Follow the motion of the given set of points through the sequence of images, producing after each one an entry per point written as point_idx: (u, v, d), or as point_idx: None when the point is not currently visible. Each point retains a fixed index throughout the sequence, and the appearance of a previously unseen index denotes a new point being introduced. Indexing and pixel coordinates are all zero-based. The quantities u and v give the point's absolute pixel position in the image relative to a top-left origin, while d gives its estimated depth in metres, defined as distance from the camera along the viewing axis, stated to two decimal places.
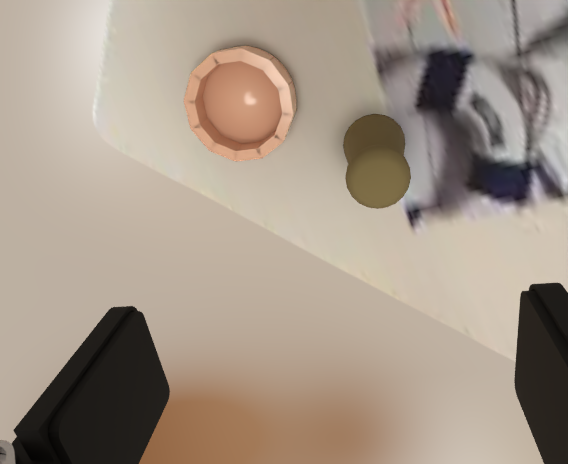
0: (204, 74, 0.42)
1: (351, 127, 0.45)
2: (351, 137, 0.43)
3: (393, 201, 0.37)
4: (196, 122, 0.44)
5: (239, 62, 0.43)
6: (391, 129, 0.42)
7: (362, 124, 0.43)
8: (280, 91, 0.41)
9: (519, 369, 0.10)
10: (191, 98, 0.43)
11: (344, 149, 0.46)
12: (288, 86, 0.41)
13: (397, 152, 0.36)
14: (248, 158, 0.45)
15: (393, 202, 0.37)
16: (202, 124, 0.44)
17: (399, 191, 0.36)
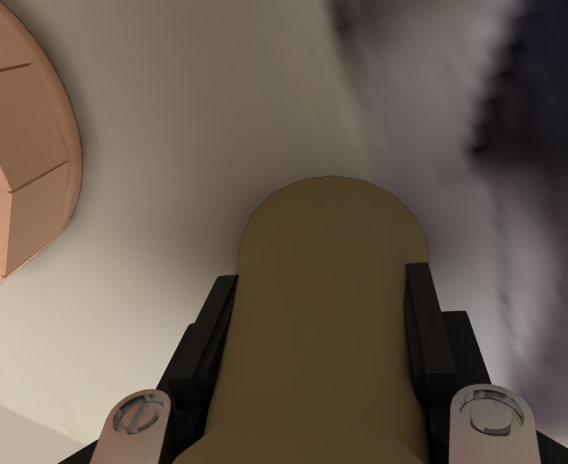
0: None
1: (255, 217, 0.14)
2: (243, 265, 0.12)
3: None
4: None
5: None
6: (385, 247, 0.11)
7: (282, 218, 0.12)
8: None
9: None
10: None
11: None
12: None
13: None
14: None
15: None
16: None
17: None
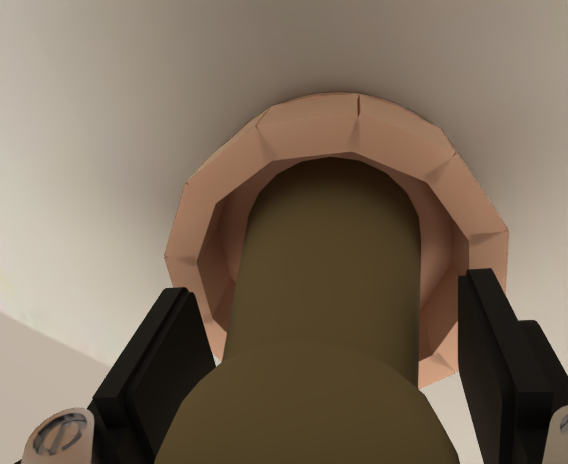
0: (228, 188, 0.13)
1: (261, 195, 0.15)
2: (251, 235, 0.13)
3: None
4: (201, 310, 0.15)
5: None
6: (379, 217, 0.12)
7: (287, 193, 0.14)
8: (475, 246, 0.13)
9: (460, 349, 0.11)
10: (187, 251, 0.14)
11: None
12: None
13: (401, 420, 0.07)
14: None
15: None
16: (217, 309, 0.16)
17: None
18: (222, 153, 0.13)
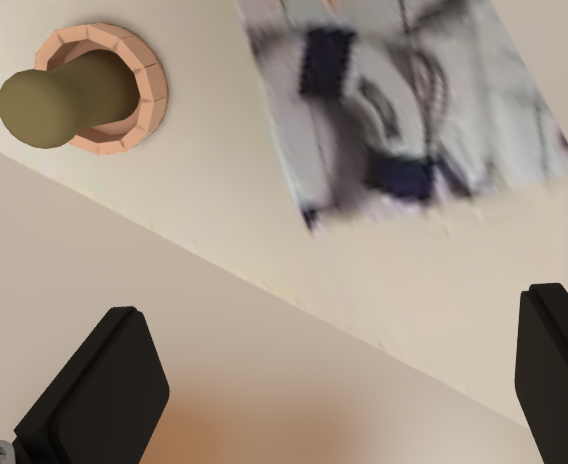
0: (50, 55, 0.36)
1: None
2: None
3: (52, 138, 0.31)
4: None
5: (96, 42, 0.38)
6: (100, 62, 0.36)
7: None
8: (136, 74, 0.36)
9: (519, 370, 0.10)
10: None
11: None
12: (144, 68, 0.36)
13: (49, 77, 0.30)
14: (112, 151, 0.39)
15: (54, 139, 0.31)
16: None
17: (53, 125, 0.30)
18: (46, 41, 0.36)
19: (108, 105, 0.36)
